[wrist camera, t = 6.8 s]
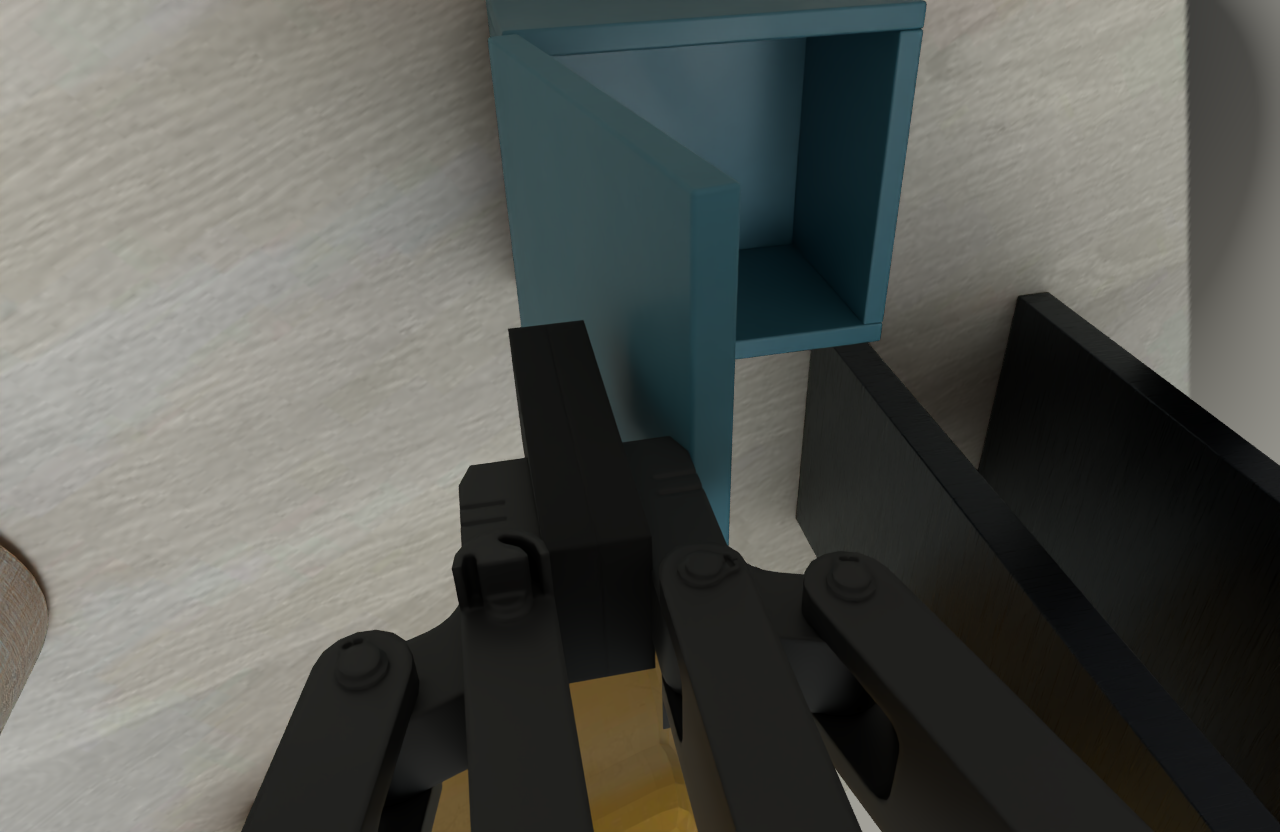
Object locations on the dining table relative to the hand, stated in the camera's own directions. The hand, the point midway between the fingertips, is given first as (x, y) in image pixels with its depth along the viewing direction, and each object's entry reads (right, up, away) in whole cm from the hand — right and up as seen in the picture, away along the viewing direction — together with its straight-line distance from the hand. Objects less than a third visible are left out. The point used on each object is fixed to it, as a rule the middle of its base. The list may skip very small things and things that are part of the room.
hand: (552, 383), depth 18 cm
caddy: (+3, +10, +14) cm, 17 cm away
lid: (+1, +1, +2) cm, 3 cm away
